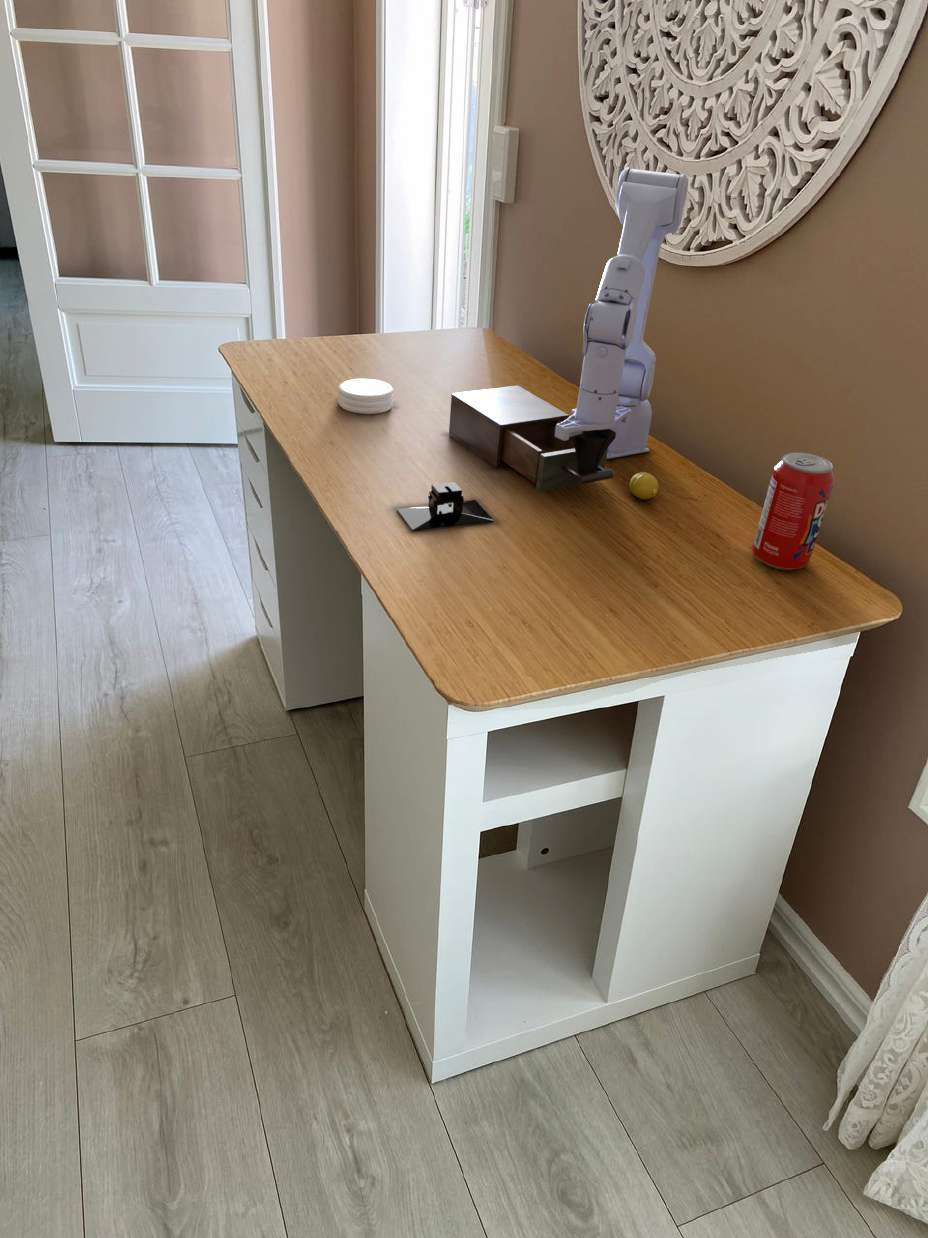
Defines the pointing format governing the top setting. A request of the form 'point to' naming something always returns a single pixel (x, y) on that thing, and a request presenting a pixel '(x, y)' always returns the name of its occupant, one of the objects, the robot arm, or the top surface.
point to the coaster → (365, 396)
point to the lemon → (644, 485)
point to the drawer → (546, 457)
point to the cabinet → (495, 418)
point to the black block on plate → (444, 510)
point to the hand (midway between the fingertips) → (585, 474)
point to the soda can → (793, 510)
